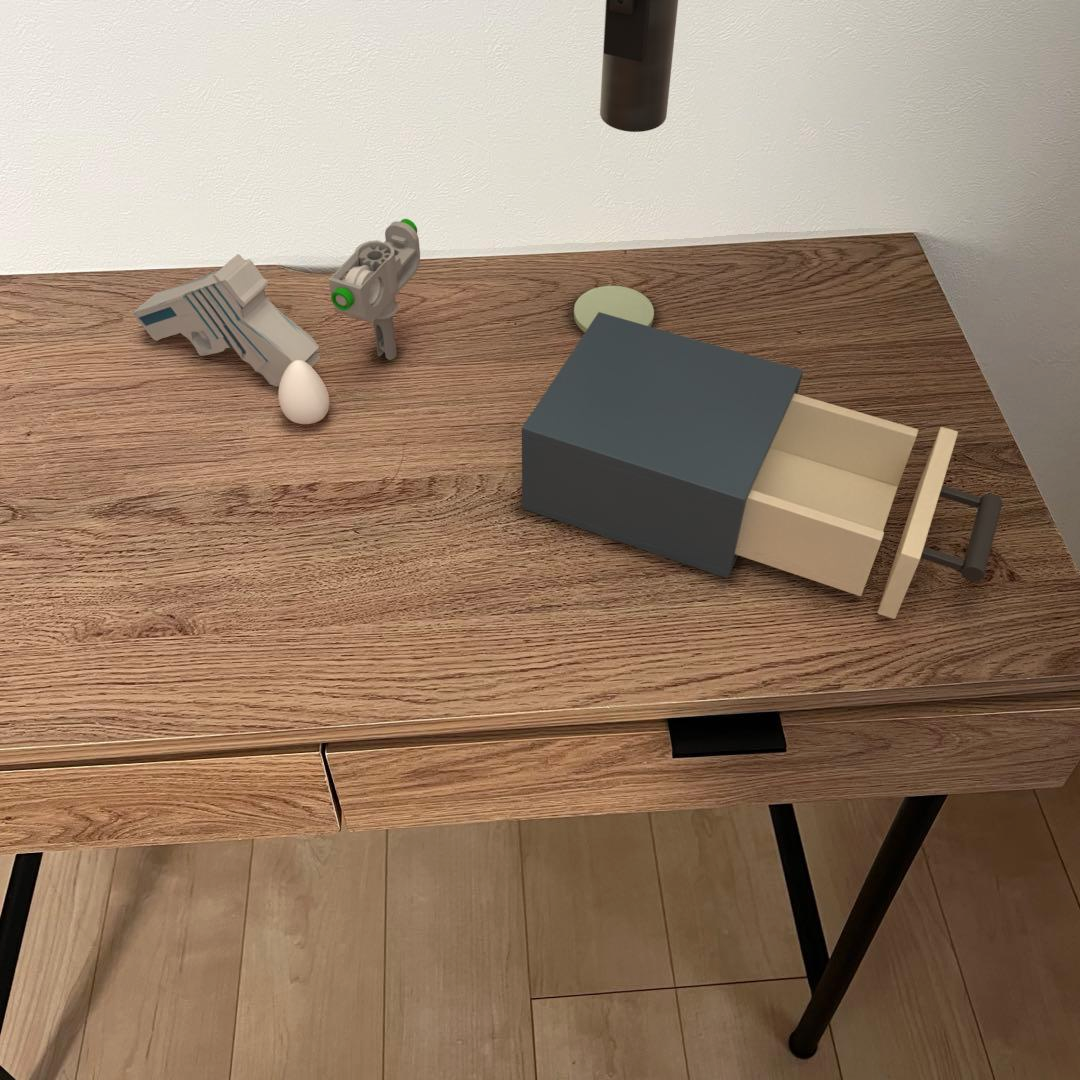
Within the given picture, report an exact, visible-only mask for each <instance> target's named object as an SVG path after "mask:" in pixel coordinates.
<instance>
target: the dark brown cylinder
mask: <svg viewBox="0 0 1080 1080" xmlns="http://www.w3.org/2000/svg"><path fill="white" fill-rule="evenodd" d="M606 1H607V0H605V2H606ZM678 6H679V0H650V8H649V20H648V32H647V44H646V56H645V58H644V59H643V61H642V62H639V61H634V60H630V59H626V58H621V57H617V56H612V55H608V54H604V44H603V49H602V68H601V83H600V84H601V85H600V86H601V87H600V88H601V89H600V104H599V106H600V107H599V117H600V119H601V120H602V121H603V123H605V124H606V125H607V126H609V127H611V128H613V129H615V130H619V131H623V132H630V133H642V132H648V131H651V130H652V131H653V130H654V129H657V128H659V127H660V126H662V125H663V124H664V123H665V121H666V119H667V115H668V105H669V97H670V96H669V95H670V87H671V75H672V66H673V56H674V46H675V37H676V26H677V15H678ZM604 11H605V12H604V21H605V20H606V6H605V9H604ZM603 29H604V30H603V40H604V39H605V25H604V28H603Z"/></svg>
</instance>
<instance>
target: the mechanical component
mask: <svg viewBox="0 0 1080 1080" xmlns="http://www.w3.org/2000/svg"><path fill="white" fill-rule="evenodd" d="M384 238H385V241H380V240H368V241H366V242H362V243H361V244H359V245H358V246H357V247H356V248H355V250H354V252H353V254H352V255H350V257H348V259H346V261H345V262H343V264H342V265H341V266H340V267H339V268H338V269H337V270H336V271H335V272H334V273H333V274H332V275H331V277H329V278H328V283H329V290H330V299H331V303H332V304H333V305H334V310H335V312H337V313H338V314H340V315H345V316H348V317H351V318H354V319H357V320H361V321H364V322H367V323H373V330H374V338H375V346H376V353H377V357H381V356H382V355H383V354H385V355H384V356H385V359H387V360H388V361H392V360H394V359H395V358H396V357H397V356H398V352H397V351H398V350H397V342H396V334H395V326H394V325H395V324H394V316H395V315H396V314H397V313H398V311H399V304H398V302H397V299H396V296H397V295H398V294H399V293H400V292H401V291H402V289H403V288H404V287H405V286H406V285H407V284H408V283H409V282H410V280H411V279H412V278H413V277H414V276H415V274H416V273H417V271H418V269H419V266H420V263H421V249H420V239H419V235H418V227H417V225H416V224H415V222H414V221H412V220H411V219H409V218H402V219H401V220H400V221H398V220H397V221H396V220H395V221H393V222H391V224H389V225H388V226H387V228H386V229H385V232H384ZM347 272H348V273H347ZM346 273H347V274H346ZM344 277H345V278H344Z"/></svg>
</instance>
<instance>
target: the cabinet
mask: <svg viewBox="0 0 1080 1080" xmlns="http://www.w3.org/2000/svg"><path fill="white" fill-rule="evenodd" d="M583 333H584V334H583V335H582V336H581V338H580V339H579V341H578V342H577V344H576V345H575V347H574V348H573V350H572V351H571V353H570V355H569V356H568V357H567V359H566V360H565V362H564V363H563V365H562V366H561V368H560V369H559V371H558V372H557V374H556V376H555V377H554V379H552V382H551V383H550V385H549V386H548V387H547V388H546V390H545V392H544V393H543V395H542V397H541V398H540V400H539V401H538V403H537V404H536V405H535V407H534V409H533V410H532V411H531V413H530V415H529V416H528V418H527V419H526V420H525V422H524V424H523V425H522V427H521V509H523V510H525V511H528V512H531V513H534V514H538V515H540V516H543V517H546V518H549V519H551V520H554V521H558V522H561V523H563V524H567V525H569V526H572V527H576V528H578V529H581V530H584V531H587V532H590V533H593V534H595V535H599V536H602V537H604V538H607V539H611V540H614V541H616V542H619V543H622V544H625V545H628V546H631V547H633V548H637V549H639V550H643V551H645V552H648V553H651V554H655V555H656V556H660V557H663V558H666V559H668V560H672V561H675V562H678V563H681V564H683V565H686V566H689V567H692V568H695V569H698V570H701V571H704V572H707V573H710V574H713V575H716V576H718V577H721V578H724V579H729V577H730V575H731V572H732V571H733V568H734V565H735V563H736V561H737V558H738V556H739V555H736V554H735V551H736V546H737V542H738V537H739V533H740V528H741V523H742V519H743V514H744V510H745V505H746V500H747V498H748V496H749V494H750V491H751V489H752V487H753V485H754V482H755V480H756V478H757V476H758V474H759V471H760V469H761V467H762V465H763V462H764V460H765V458H766V456H767V454H768V451H769V449H770V447H771V445H772V442H773V440H774V438H775V436H776V434H777V431H778V429H779V427H780V425H781V422H782V420H783V418H784V416H785V414H786V411H787V409H788V407H789V405H790V402H791V400H792V398H793V396H794V394H798V393H799V389H800V386H801V383H802V377H803V373H804V371H803V369H800V368H796V367H794V366H793V367H792V366H790V365H786V364H783V363H779V362H775V361H771V360H769V359H766V358H765V359H764V358H761V357H757V356H755V355H751V354H747V353H744V352H740V351H737V350H733V349H730V348H726V347H723V346H719V345H716V344H712V343H708V342H706V341H702V340H699V339H695V338H691V337H688V336H684V335H681V334H677V333H674V332H671V331H667V330H664V329H660V328H656V327H652V326H651V327H650V326H646V325H643V324H639V323H636V322H632V321H629V320H625V319H622V318H618V317H615V316H611V315H608V314H604V313H601V312H598V314H597V315H596V317H595V318H594V320H593V321H592V323H591V324H590V326H589V327H588V329H587V330H586V332H583Z"/></svg>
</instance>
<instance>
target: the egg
mask: <svg viewBox="0 0 1080 1080" xmlns="http://www.w3.org/2000/svg"><path fill="white" fill-rule="evenodd" d="M277 394H278V395H277V396H278V403H279V407H280V409H281V411H282V413H283V415H284V416H285V417H286V418H287V419H288V420H289V421H291V422H293V423H295V424H299V425H310V424H315V423H319V422H320V421H322V420H323V419H324V418H325V417H326V415H328V412H329V410H330V406H331V405H330V404H331V403H330V394H329V391H328V389H327V387H326V384H325V382H324V381H323V380H322V378H321V376H320V375H319V373H318V372H317V371H316V370H315V368H313V366H312V367H311V366H310V365H309V364H308V363H306V362H304V361H302V360H296V361H293V362H292V363H291V364H290V365H289V366H288V367H287V369H286V370H285V372H284V374H283V376H282V379H281V381H280V385H279V386H278V392H277Z"/></svg>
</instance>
